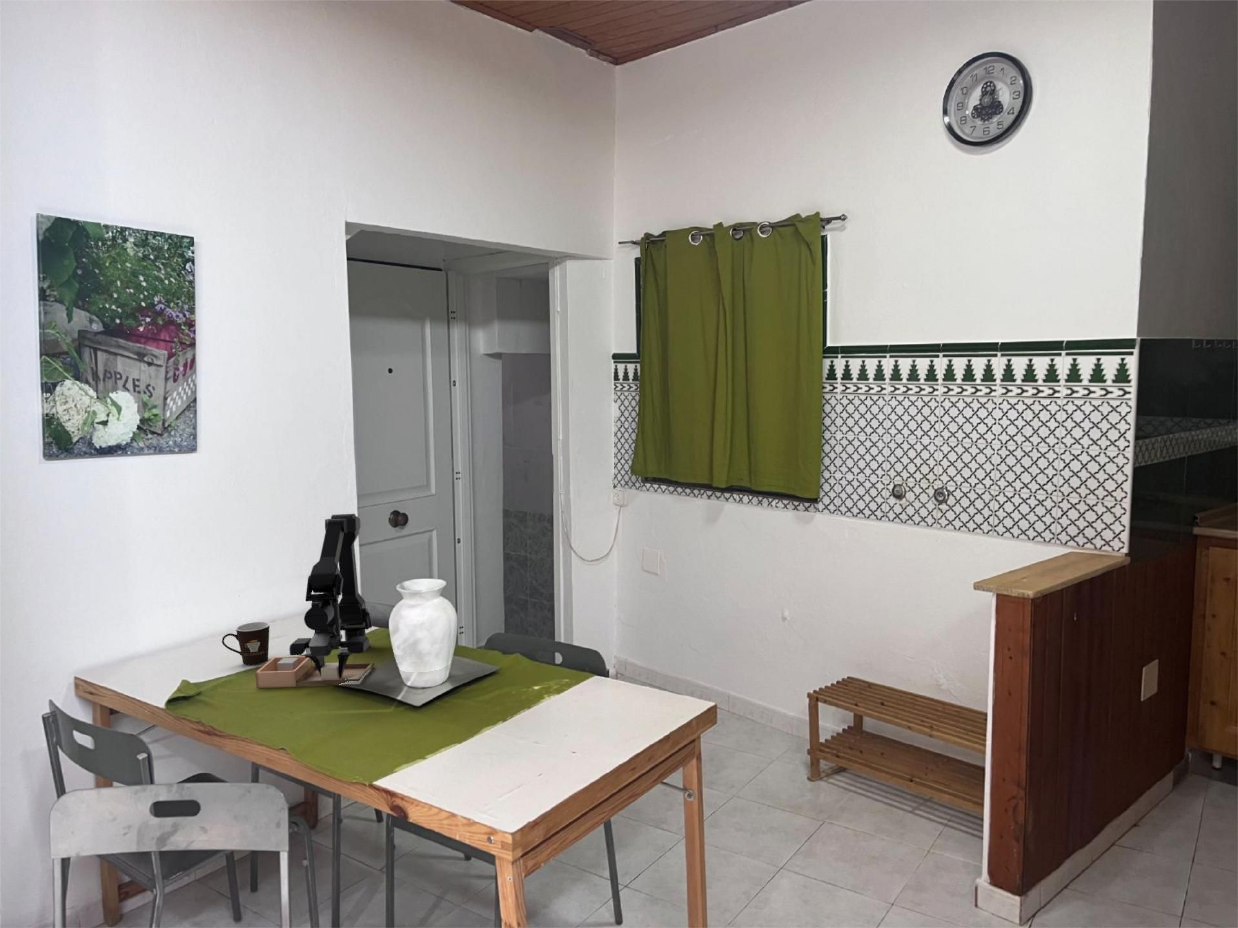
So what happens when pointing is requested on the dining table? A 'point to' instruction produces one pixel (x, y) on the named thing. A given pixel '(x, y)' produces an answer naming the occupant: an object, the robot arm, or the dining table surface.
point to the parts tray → (314, 679)
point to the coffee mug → (252, 642)
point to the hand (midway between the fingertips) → (332, 678)
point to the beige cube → (330, 671)
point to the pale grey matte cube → (288, 664)
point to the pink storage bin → (281, 673)
